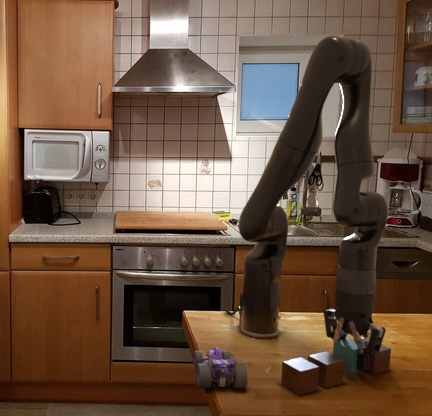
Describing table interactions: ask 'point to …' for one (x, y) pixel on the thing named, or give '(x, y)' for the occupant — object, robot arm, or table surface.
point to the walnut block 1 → (300, 376)
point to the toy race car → (219, 369)
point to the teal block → (347, 353)
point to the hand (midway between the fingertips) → (350, 364)
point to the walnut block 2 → (328, 368)
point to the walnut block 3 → (379, 361)
